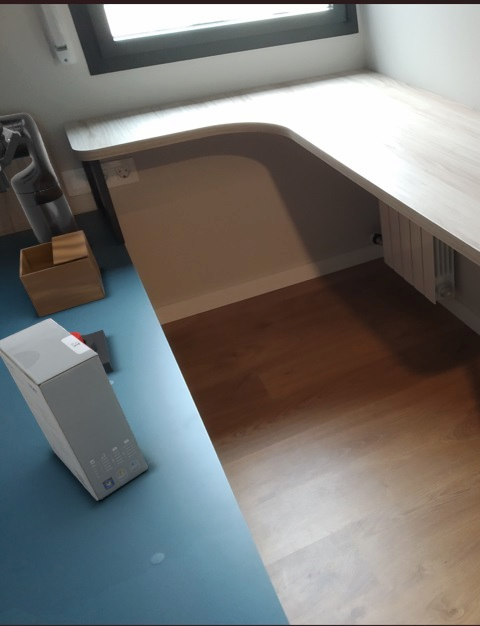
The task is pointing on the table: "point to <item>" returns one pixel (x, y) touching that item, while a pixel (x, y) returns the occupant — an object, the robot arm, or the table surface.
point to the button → (77, 336)
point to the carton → (59, 279)
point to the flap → (69, 247)
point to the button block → (99, 348)
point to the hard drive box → (74, 405)
